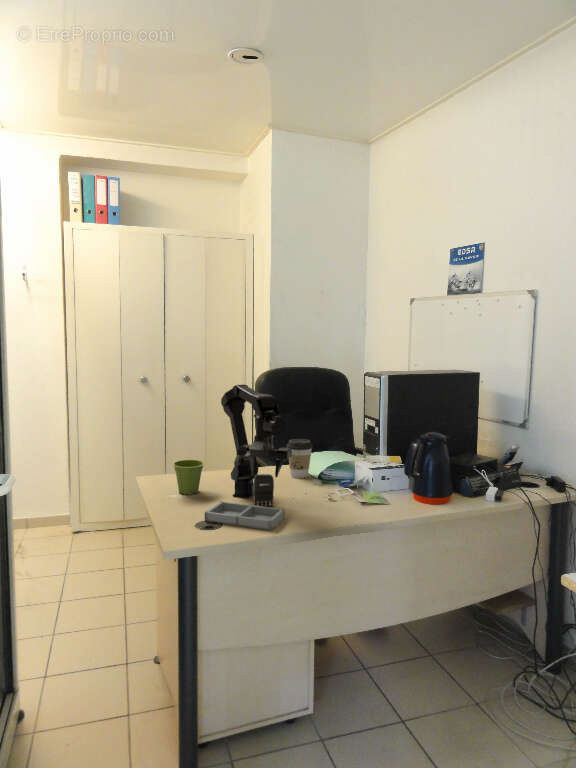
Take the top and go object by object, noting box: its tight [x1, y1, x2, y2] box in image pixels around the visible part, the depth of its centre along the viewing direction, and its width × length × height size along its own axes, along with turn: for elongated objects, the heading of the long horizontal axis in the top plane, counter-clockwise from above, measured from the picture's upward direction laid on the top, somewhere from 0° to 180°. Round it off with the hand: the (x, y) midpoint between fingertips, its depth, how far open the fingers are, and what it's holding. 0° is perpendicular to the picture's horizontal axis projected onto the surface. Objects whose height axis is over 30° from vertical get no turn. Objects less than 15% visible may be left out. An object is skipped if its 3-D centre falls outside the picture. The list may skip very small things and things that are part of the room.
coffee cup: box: [285, 438, 314, 479], centre depth 229 cm, size 11×11×15 cm
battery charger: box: [253, 473, 275, 508], centre depth 188 cm, size 7×4×11 cm, turn 96°
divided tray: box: [204, 501, 285, 532], centre depth 176 cm, size 23×12×3 cm, turn 71°
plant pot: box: [172, 459, 205, 495], centre depth 204 cm, size 12×12×11 cm
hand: (264, 476), depth 188 cm, fingers open, 9 cm apart
